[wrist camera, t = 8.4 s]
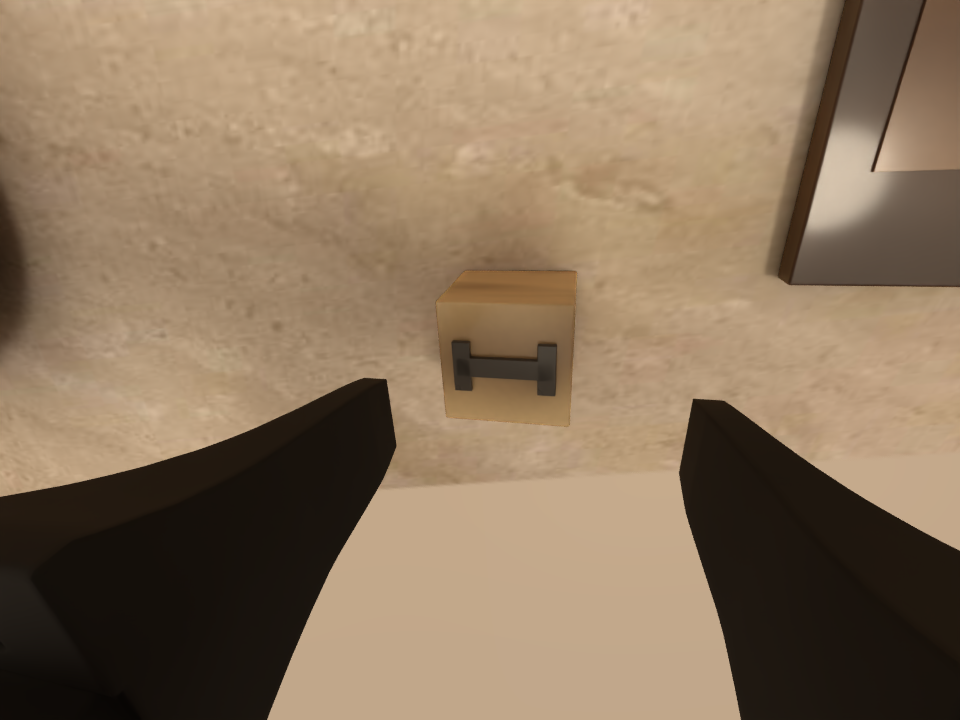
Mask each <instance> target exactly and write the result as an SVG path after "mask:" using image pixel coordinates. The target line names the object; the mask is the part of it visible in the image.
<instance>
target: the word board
mask: <svg viewBox="0 0 960 720" xmlns="http://www.w3.org/2000/svg"><path fill="white" fill-rule="evenodd" d="M778 277H779V278H780V279H781V280H783V281H784V282H785V283H787V284H789V285H825V286H911V287H960V0H846V1H845V5H844V10H843V14H842V18H841V22H840V26H839V30H838V34H837V38H836V42H835V46H834V50H833V54H832V58H831V62H830V67H829V71H828V75H827V79H826V83H825V87H824V91H823V95H822V99H821V103H820V107H819V111H818V115H817V120H816V124H815V128H814V132H813V136H812V140H811V144H810V148H809V152H808V156H807V160H806V164H805V168H804V172H803V177H802V181H801V185H800V189H799V193H798V197H797V201H796V205H795V209H794V213H793V217H792V221H791V225H790V230H789V234H788V238H787V242H786V246H785V250H784V254H783V258H782V262H781V266H780V270H779V274H778Z"/></svg>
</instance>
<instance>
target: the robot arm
mask: <svg viewBox="0 0 960 720" xmlns="http://www.w3.org/2000/svg"><path fill="white" fill-rule="evenodd" d="M395 449H396V439H395V432H394V426H393V419H392V413H391V406H390V399H389V393H388V386H387V380H386V379H373V378H363V379H360V380H357V381H354V382H352V383H350V384H347V385H345V386H343V387H341V388H339V389H337V390H335V391H333V392H331V393H329V394H326V395H324V396H322V397H320V398H318V399H316V400H314V401H312V402H310V403H308V404H306V405H304V406H302V407H300V408H298V409H296V410H294V411H292V412H290V413H287V414H285V415H283V416H281V417H279V418H276V419H274V420H272V421H270V422H268V423H265V424H263V425H261V426H259V427H257V428H254V429H252V430H250V431H247V432H245V433H242V434H240V435H237V436H235V437H232V438H230V439H227V440H224V441H222V442H219V443H216V444H213V445H211V446H208V447H205V448H202V449H199V450H196V451H193V452H190V453H187V454H183V455H180V456H177V457H173V458H170V459H167V460H164V461H160V462H157V463H154V464H150V465H147V466H144V467H140V468H136V469H132V470H128V471H124V472H120V473H116V474H113V475H108V476H104V477H100V478H95V479H91V480H87V481H82V482H78V483H73V484H68V485H63V486H58V487H53V488H47V489H42V490H36V491H31V492H25V493H20V494H14V495H9V496H3V497H0V720H267V718H268V715H269V713H270V710H271V708H272V705H273V703H274V700H275V698H276V695H277V692H278V690H279V688H280V685H281V682H282V680H283V677H284V675H285V672H286V670H287V667H288V665H289V662H290V660H291V657H292V655H293V653H294V650H295V648H296V646H297V643H298V641H299V639H300V636H301V634H302V632H303V629H304V627H305V625H306V622H307V620H308V618H309V615H310V613H311V611H312V609H313V606H314V604H315V602H316V600H317V598H318V596H319V593H320V591H321V589H322V587H323V585H324V583H325V580H326V578H327V576H328V574H329V572H330V570H331V568H332V566H333V564H334V563H335V561H336V559H337V557H338V555H339V553H340V552H341V550H342V548H343V546H344V545H345V543H346V541H347V540H348V538H349V536H350V535H351V533H352V531H353V530H354V528H355V526H356V525H357V523H358V521H359V520H360V518H361V516H362V515H363V513H364V511H365V510H366V508H367V506H368V504H369V503H370V501H371V499H372V498H373V496H374V494H375V493H376V491H377V489H378V487H379V486H380V484H381V482H382V480H383V478H384V476H385V473H386V471H387V469H388V467H389V464H390V462H391V459H392V456H393V454H394V451H395ZM679 476H680V481H681V488H682V494H683V500H684V505H685V510H686V515H687V518H688V522H689V525H690V528H691V531H692V535H693V538H694V541H695V544H696V547H697V550H698V553H699V557H700V560H701V563H702V566H703V569H704V572H705V575H706V578H707V581H708V584H709V588H710V591H711V594H712V597H713V600H714V603H715V606H716V609H717V613H718V616H719V620H720V624H721V627H722V631H723V635H724V639H725V643H726V648H727V653H728V658H729V662H730V667H731V672H732V677H733V681H734V686H735V691H736V696H737V701H738V706H739V711H740V717H741V720H960V551H959V550H957V549H955V548H953V547H951V546H949V545H947V544H945V543H943V542H941V541H939V540H937V539H935V538H934V537H931V536H930V535H928V534H926V533H924V532H922V531H920V530H918V529H917V528H915V527H913V526H911V525H909V524H908V523H906V522H904V521H902V520H901V519H899V518H897V517H895V516H894V515H892V514H890V513H888V512H887V511H885V510H883V509H881V508H880V507H878V506H876V505H874V504H873V503H871V502H869V501H867V500H866V499H864V498H863V497H861V496H859V495H858V494H856V493H854V492H853V491H851V490H850V489H848V488H846V487H845V486H843V485H842V484H840V483H839V482H837V481H836V480H834V479H833V478H831V477H830V476H828V475H827V474H825V473H824V472H822V471H821V470H819V469H817V468H816V467H815V466H813V465H812V464H810V463H809V462H807V461H806V460H805V459H803V458H802V457H800V456H799V455H797V454H796V453H795V452H793V451H792V450H790V449H789V448H788V447H786V446H785V445H784V444H782V443H781V442H779V441H778V440H777V439H775V438H774V437H773V436H771V435H770V434H769V433H767V432H766V431H765V430H763V429H762V428H761V427H759V426H758V425H757V424H755V423H754V422H753V421H751V420H750V419H749V418H748V417H746V416H745V415H743V414H742V413H741V412H739V411H738V410H737V409H735V408H734V407H732V406H731V405H730V404H728V403H726V402H725V401H720V400H704V399H693V402H692V408H691V413H690V418H689V423H688V429H687V434H686V439H685V444H684V450H683V455H682V460H681V465H680V471H679Z"/></svg>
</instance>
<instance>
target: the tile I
mask: <svg viewBox="0 0 960 720" xmlns="http://www.w3.org/2000/svg"><path fill="white" fill-rule="evenodd" d="M576 285H577V272H576V271H464V272H463V273H462V274H461V275H460V276H459V277H458V278H457V280H456V281H455V282H454V283H453V284H452V285H451V286H450V287H449V288H448V289H447V290H446V291H445V292H444V294H443V295H442V296H441V297H440V298H439V299H438V300H437V301H436V303H435V304H436V314H437V325H438V336H439V346H440V357H441V368H442V378H443V389H444V400H445V410H446V417H448V418H460V419H473V420H486V421H499V422H512V423H525V424H538V425H551V426H564V427H568V426H569V425H570V408H571V389H572V369H573V348H574V327H575V306H576Z"/></svg>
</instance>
